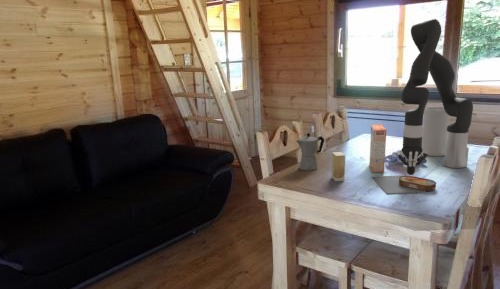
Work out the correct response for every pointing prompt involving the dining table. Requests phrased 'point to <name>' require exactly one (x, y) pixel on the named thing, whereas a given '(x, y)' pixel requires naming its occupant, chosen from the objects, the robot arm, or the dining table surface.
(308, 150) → the coffeepot
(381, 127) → the cracker box
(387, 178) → the mat
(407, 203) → the dining table surface
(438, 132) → the cylinder vase
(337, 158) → the skincare box
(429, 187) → the tin
